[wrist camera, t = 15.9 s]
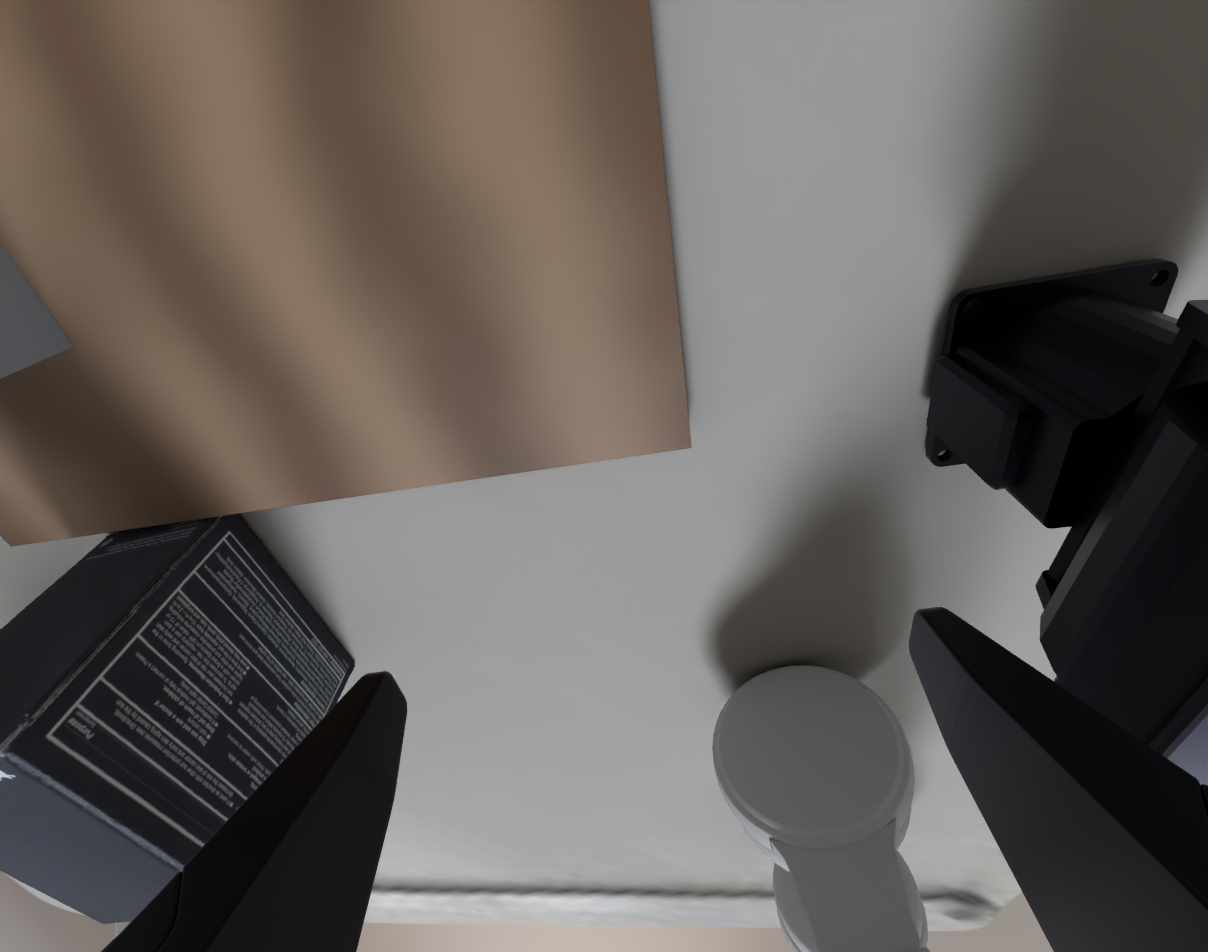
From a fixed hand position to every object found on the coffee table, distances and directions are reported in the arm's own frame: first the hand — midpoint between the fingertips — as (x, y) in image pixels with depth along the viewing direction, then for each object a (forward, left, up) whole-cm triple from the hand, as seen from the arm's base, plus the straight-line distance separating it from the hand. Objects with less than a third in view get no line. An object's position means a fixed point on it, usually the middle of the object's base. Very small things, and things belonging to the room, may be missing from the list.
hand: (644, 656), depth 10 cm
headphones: (-7, +26, -12) cm, 30 cm away
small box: (+19, +8, -12) cm, 24 cm away
